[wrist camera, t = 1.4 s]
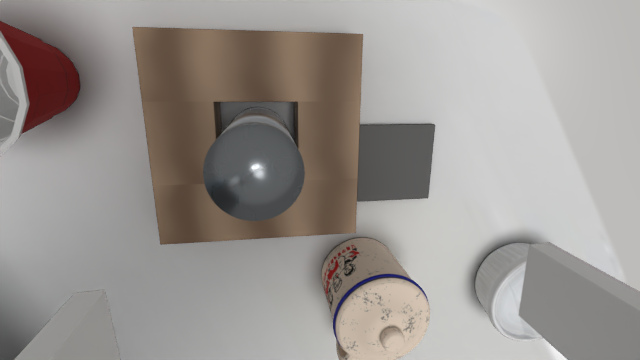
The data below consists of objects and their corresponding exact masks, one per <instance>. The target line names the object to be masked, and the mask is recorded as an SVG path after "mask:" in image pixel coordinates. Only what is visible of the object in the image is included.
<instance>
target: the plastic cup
mask: <svg viewBox="0 0 640 360" xmlns="http://www.w3.org/2000/svg"><path fill="white" fill-rule="evenodd" d="M79 90H80V82H79V74H78V72H77V71H76V69H75V67H74V65H73V63H72V62H71V61H70V60H69V59H68V58H67V57H66V56H65V55H64V54H63V53H62V52H61V51H59V50H58V49H57V48H55V47H53V46H51V45H49V44H46V43H44V42H43V41H42V40H41V39H39V38H36V37H34V36H32V35H30V34H28V33H25V32H23V31H21V30H19V29H17V28H14V27H12V26H10V25H8V24H6V23H3V22H1V21H0V157H1V156H2V155H3V154H4V153H5V152H6V150H7V149H8V148H9V147H10V146H11V145H12V144H13V143H14V142H15V141H16V140H17V139H18V138H19V137H20V136H21V134H22V133H24V132H26V131H28V130H30V129H32V128H34V127H35V126H37V125H39V124H41V123H43V122H45V121H47V120H49V119H51V118H52V117H53V116H54V115H56V114H59V113H61V112H63V111H65V110H66V109H67V108H68V107H69V106H70V105H71V104H72V103H73V102H74V101H75V100H76V98H77V96H78V93H79Z"/></svg>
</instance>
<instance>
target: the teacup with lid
mask: <svg viewBox="0 0 640 360" xmlns="http://www.w3.org/2000/svg"><path fill="white" fill-rule="evenodd" d="M322 284H323V287H324V291H325V294H326V297H327V301H328V304H329V308H330V311H331V314H332V318H333V329H334V334H335V337H336V346H337V354H338V358H339V360H396V359H398V358H400V357H402V356H404V355H406V354H407V353H409V352H410V351H411V350H412V349H414V348H415V347H416V346H417V345H418V343H419V342H420V341H421V339H422V338H423V336H424V335H425V333H426V330H427V328H428V324H429V319H430V308H429V303H428V299H427V297H426V294H425V293H424V291H423V290H422V288H421V287H420V286H419V285H418V284H417V283H416V282H414V281H413V280H411V278H410V277H409V276H408V274H407V273H406V272H405V270H404V269H403V268H402V266H401V265H400V264H399V262H398V261H397V260H396V258H395V257H394V256H393V255H392V253H391V252H390V251H389V249H388V248H387V247H386V246H385V245H383V244H382V243H380V242H378V241H376V240H373V239H369V238H356V239H351V240H348V241H346V242H344V243H342V244H340V245H339V246H337V247H336V248H335V249H334V250H333V251H332V252H331V253H330V254H329V255H328V257H327V258H326V260H325V262H324V265H323V268H322Z"/></svg>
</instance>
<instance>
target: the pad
mask: <svg viewBox="0 0 640 360" xmlns="http://www.w3.org/2000/svg"><path fill="white" fill-rule="evenodd" d="M434 131H435V125H434V124H398V125H360V128H359V155H358V182H357V202H358V201H379V200H401V199H422V198H428V194H429V184H430V173H431V163H432V152H433V142H434Z"/></svg>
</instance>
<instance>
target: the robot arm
mask: <svg viewBox="0 0 640 360" xmlns="http://www.w3.org/2000/svg"><path fill="white" fill-rule="evenodd" d="M518 315H519V316H520V317H521V318H522V319H523V320H524V321H525V322H526V323H528V324H529V325H530V326H531V327H532V328H533V329H534V330H535V331H536V332H538V333H539V334H540V335H541V336H542V337H543V338H544V339H545V340H546V341H548V342H549V343H550V344H551V345H552V346H553V347H554V348H555V349H556V350H558V351H559V352H560V353H561V354H562V355H563V356H564V357H565V358H567V359H568V360H640V292H639V291H638V290H636V289H634V288H632V287H630V286H628V285H627V284H625V283H623V282H621V281H619V280H617V279H616V278H614V277H612V276H610V275H608V274H606V273H605V272H603V271H601V270H599V269H597V268H595V267H594V266H592V265H590V264H588V263H586V262H584V261H583V260H581V259H579V258H577V257H575V256H573V255H572V254H570V253H568V252H566V251H564V250H562V249H561V248H559V247H557V246H555V245H553V244H551V243H550V242H549V243H539V244H530V245H529V249H528V255H527V262H526V268H525V275H524V281H523V288H522V295H521V301H520V308H519V314H518ZM14 360H120V355H119V351H118V346H117V342H116V337H115V333H114V329H113V324H112V320H111V315H110V311H109V306H108V302H107V297H106V293H105V290H97V291H88V292H79V293H74V294H73V295H72V296H71V298H70V299H69V300H68V301H67V302H66V303H65V304H64V305H63V306H62V307H61V309H60V310H59V311H58V312H57V313H56V314H55V315H54V316H53V317H52V318H51V320H50V321H49V322H48V323H47V324H46V325H45V326H44V327H43V328H42V329H41V331H40V332H39V333H38V334H37V335H36V336H35V337H34V338H33V339H32V340H31V342H30V343H29V344H28V345H27V346H26V347H25V348H24V349H23V350H22V351H21V353H20V354H19V355H18V356H17V357H16V358H15V359H14Z"/></svg>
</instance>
